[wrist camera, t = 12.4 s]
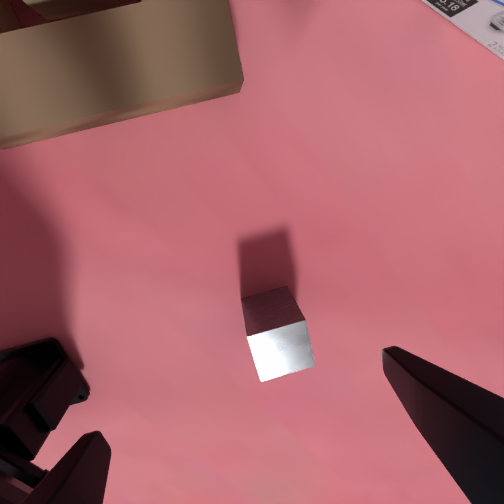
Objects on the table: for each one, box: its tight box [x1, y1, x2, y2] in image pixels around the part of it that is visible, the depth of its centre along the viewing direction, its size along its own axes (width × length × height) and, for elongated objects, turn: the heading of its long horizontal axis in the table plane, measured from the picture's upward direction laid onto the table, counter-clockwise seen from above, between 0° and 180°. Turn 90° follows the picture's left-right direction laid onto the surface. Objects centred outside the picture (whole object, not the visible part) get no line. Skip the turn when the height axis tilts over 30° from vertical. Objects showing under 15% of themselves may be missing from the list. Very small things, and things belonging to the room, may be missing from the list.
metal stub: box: [241, 286, 315, 382], centre depth 20 cm, size 4×4×5 cm
